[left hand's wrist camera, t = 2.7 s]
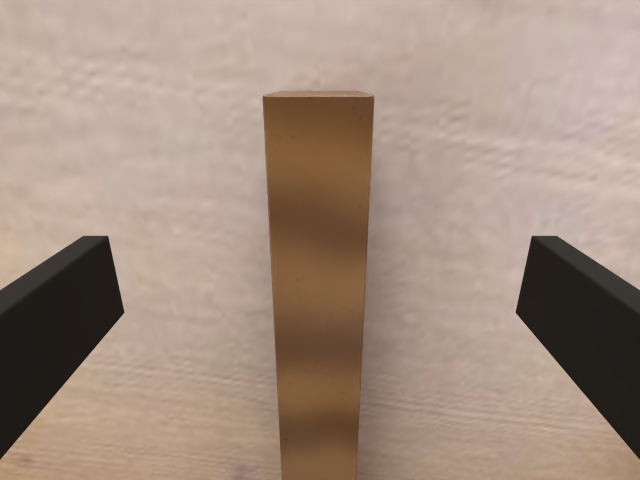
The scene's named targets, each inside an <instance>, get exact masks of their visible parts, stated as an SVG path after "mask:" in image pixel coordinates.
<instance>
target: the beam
mask: <svg viewBox="0 0 640 480" xmlns="http://www.w3.org/2000/svg"><path fill="white" fill-rule="evenodd" d="M263 112H264V132H265V152H266V172H267V191H268V211H269V231H270V251H271V271H272V290H273V310H274V330H275V350H276V370H277V390H278V409H279V429H280V449H281V469H282V480H356V468H357V447H358V426H359V405H360V384H361V364H362V343H363V322H364V301H365V280H366V259H367V238H368V217H369V196H370V175H371V155H372V134H373V113H374V96H373V95H370V94H366V93H362V92H359V91H279V92H275V93H271V94H267V95H264V96H263Z"/></svg>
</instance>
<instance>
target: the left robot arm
mask: <svg viewBox="0 0 640 480" xmlns="http://www.w3.org/2000/svg"><path fill="white" fill-rule="evenodd" d="M123 314H124V309H123V304H122V299H121V295H120V290H119V285H118V281H117V276H116V271H115V266H114V262H113V257H112V252H111V248H110V243H109V238H108V236H82V237H81V238H79V239H78V240H76V241H75V242H73V243H72V244H70V245H69V246H67V247H66V248H64V249H63V250H61V251H60V252H58V253H56V254H55V255H53V256H52V257H50V258H49V259H47V260H46V261H44V262H43V263H41V264H40V265H38V266H37V267H35V268H34V269H32V270H31V271H29V272H27V273H26V274H24V275H23V276H21V277H20V278H18V279H17V280H15V281H14V282H12V283H11V284H9V285H8V286H6V287H5V288H3V289H1V290H0V459H1V458H2V457H3V456H4V454H5V453H6V452H7V451H8V450H9V448H10V447H11V446H12V445H13V444H14V443H15V441H16V440H17V439H18V438H19V437H20V435H21V434H22V433H23V432H24V431H25V430H26V428H27V427H28V426H29V425H30V424H31V422H32V421H33V420H34V419H35V418H36V417H37V415H38V414H39V413H40V412H41V411H42V409H43V408H44V407H45V406H46V405H47V404H48V402H49V401H50V400H51V399H52V398H53V396H54V395H55V394H56V393H57V392H58V391H59V389H60V388H61V387H62V386H63V385H64V383H65V382H66V381H67V380H68V379H69V377H70V376H71V375H72V374H73V373H74V372H75V370H76V369H77V368H78V367H79V366H80V364H81V363H82V362H83V361H84V360H85V359H86V357H87V356H88V355H89V354H90V353H91V351H92V350H93V349H94V348H95V347H96V346H97V344H98V343H99V342H100V341H101V340H102V338H103V337H104V336H105V335H106V334H107V333H108V331H109V330H110V329H111V328H112V327H113V325H114V324H115V323H116V322H117V321H118V320H119V318H120V317H121V316H122V315H123ZM516 314H517V315H518V316H519V317H520V318H521V320H522V321H523V322H524V323H525V324H526V325H527V327H528V328H529V329H530V330H531V331H532V333H533V334H534V335H535V336H536V337H537V338H538V340H539V341H540V342H541V343H542V344H543V346H544V347H545V348H546V349H547V350H548V351H549V353H550V354H551V355H552V356H553V357H554V359H555V360H556V361H557V362H558V363H559V364H560V366H561V367H562V368H563V369H564V370H565V372H566V373H567V374H568V375H569V376H570V377H571V379H572V380H573V381H574V382H575V383H576V385H577V386H578V387H579V388H580V389H581V391H582V392H583V393H584V394H585V395H586V396H587V398H588V399H589V400H590V401H591V402H592V404H593V405H594V406H595V407H596V408H597V409H598V411H599V412H600V413H601V414H602V415H603V417H604V418H605V419H606V420H607V421H608V422H609V424H610V425H611V426H612V427H613V428H614V430H615V431H616V432H617V433H618V434H619V435H620V437H621V438H622V439H623V440H624V441H625V443H626V444H627V445H628V446H629V447H630V448H631V450H632V451H633V452H634V453H635V454H636V456H637V457H638V458H639V459H640V290H639V289H637V288H635V287H634V286H632V285H631V284H629V283H628V282H626V281H625V280H623V279H622V278H620V277H619V276H617V275H616V274H614V273H613V272H611V271H609V270H608V269H606V268H605V267H603V266H602V265H600V264H599V263H597V262H596V261H594V260H593V259H591V258H590V257H588V256H587V255H585V254H584V253H582V252H580V251H579V250H577V249H576V248H574V247H573V246H571V245H570V244H568V243H567V242H565V241H564V240H562V239H561V238H559V237H558V236H532V238H531V243H530V248H529V252H528V257H527V262H526V266H525V271H524V276H523V281H522V285H521V290H520V295H519V299H518V304H517V309H516Z"/></svg>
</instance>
